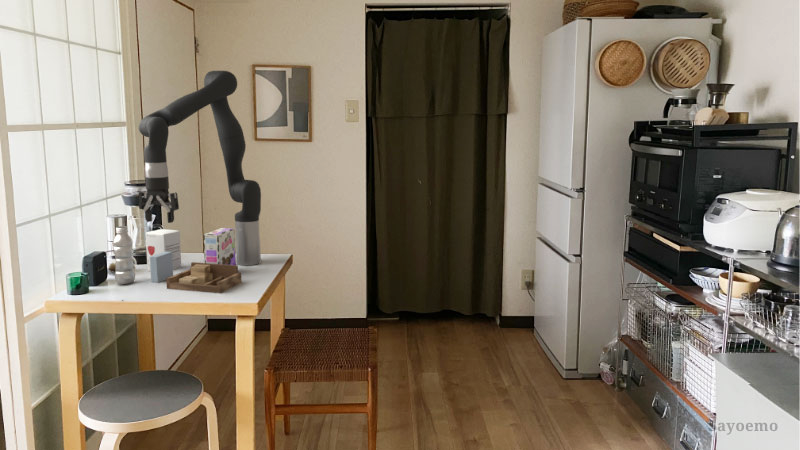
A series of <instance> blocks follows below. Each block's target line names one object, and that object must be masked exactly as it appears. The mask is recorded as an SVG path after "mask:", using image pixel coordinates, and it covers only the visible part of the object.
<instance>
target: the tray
mask: <svg viewBox="0 0 800 450" xmlns="http://www.w3.org/2000/svg"><path fill="white" fill-rule="evenodd" d="M196 264H199V265H210V273H212V276H213V280H212V281H210V282H208V283H205V284H203V285H200V284H188V283H179V279H180V278H183V277H186V276H190V275H191V268H188V269H186V270H184V271H181V272H179V273H176V274H173V276H171V277H169V278H166V281H165V282H166V290H178V291H187V292H189V291H190V292H200V293H210V294H211V293H213V294H223V292H226V291H228V290H230V289H232V288H234V287H236V286H238V285H240V284H241V283H242V272H239V265H238V264H236V265H225V264H211V263H205V262H196V261H195V262H193V261H192V262H191V263H190V267H192V266H194V265H196Z"/></svg>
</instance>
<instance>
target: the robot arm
mask: <svg viewBox="0 0 800 450" xmlns="http://www.w3.org/2000/svg"><path fill="white" fill-rule="evenodd" d="M237 88H238V79H237V77H236V75H234V74H233V73H232V72H230V71H227V70H210V71H208V72H207V73H206V74H205V75H204V79H203V87H201V88H200V89H198V90H196V91H192V92H191V93H188V94H184V95H183V96H182V97H179V98H177V99H175V100H174V101H172V102H170V103H169V104H167V105H165V107H163V108H161V109H158V110H156V111H154V112H152V113H150V114H148V115H146V116H144V117H143V118H142V119H141V120H140V121H139V124H138V130H139V132H140V135H142V136H143V137H146V138H148V144H147V145H146V146H145V147H144V149H143V150H144V151H143V156H144V180H145V189H146V191H139V192H138V208H139V210H143V211H144V218H145V221H146V222H147V223H150V222H152V221H153V215H152V214H153V213H152V212H153V211H152V209H153V207H154V206H161V207H163V208H165V210H166V211H167V212H166V216H167V217H166V218H167V223H168V224H172V223H174V221H175V211H178V210H179V209H180V206H179V197H178V196H179V195H178V193H177V192H171V193H170V191H169V189H170V184H169V183H170V180H169V167H168V163H167V145H168V139H169V127H172V126H176V125H178V124H180V123H182V122H184V121H185V120H186V119H187V118H190V116H193V114H195V113H197V112H198V111H200V110H202V109H204V108H206V107H207V106H209V105H210V107H211V111H212V115H213V119H214V123H215V126H216V131H217V136H218V141H219V144H220V145H219V146H220V149H221V152H222V155H223V156H222V157H223V161H224V166H225V171H226V172H225V173H226V178H227V186H228V191H229V195H230V198H231V199H232V201H234V202H235V203H240V204H242V206H241V210H240V211H238V212H236V213H235V214H234V231H235V255H236V265H238V266H254V265H258V264H260V263H261V259H262V258H261V238H260V215H261V209H262V207H261V206H262V205H261V204H262V203H261V202H262V193H261V187H260V184H259V182H258V181H256V180H254V179H246V178H245V176H244V173H243V166H242V165H243V159H244V156H245V152H246V146H247V145H246V141H245V136H244V132H243V131H244V130H243V128H242V125H241V124H240V122H239V120H238V119H237V117H236V116H235V114H234V113H233V111H232V109H231V107H230V105H229V100H228V97H229V96H231V95H232V94H234V93H235V92H236V90H237Z"/></svg>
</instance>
